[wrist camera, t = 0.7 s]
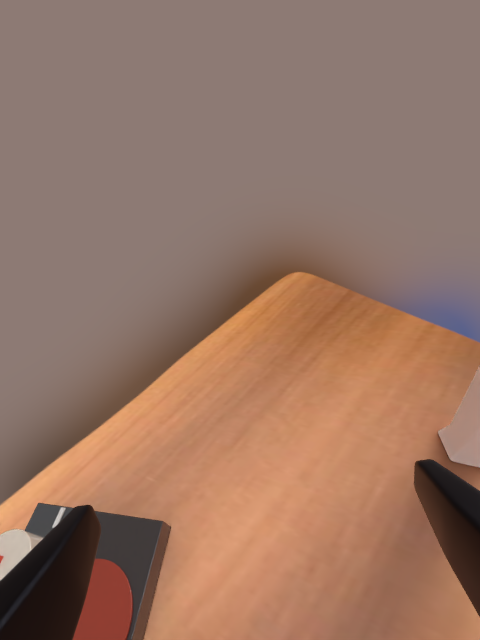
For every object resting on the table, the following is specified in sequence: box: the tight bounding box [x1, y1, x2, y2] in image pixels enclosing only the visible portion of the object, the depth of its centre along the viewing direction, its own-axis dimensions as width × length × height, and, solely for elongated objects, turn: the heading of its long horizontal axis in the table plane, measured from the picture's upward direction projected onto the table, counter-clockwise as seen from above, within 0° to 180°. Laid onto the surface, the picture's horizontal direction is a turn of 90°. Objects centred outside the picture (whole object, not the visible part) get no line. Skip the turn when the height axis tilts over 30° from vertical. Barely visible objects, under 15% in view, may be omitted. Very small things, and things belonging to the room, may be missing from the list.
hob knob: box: [0, 529, 44, 580], centre depth 22 cm, size 4×4×4 cm
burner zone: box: [73, 559, 133, 640], centre depth 21 cm, size 6×6×1 cm
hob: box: [25, 503, 171, 640], centre depth 23 cm, size 10×12×2 cm
